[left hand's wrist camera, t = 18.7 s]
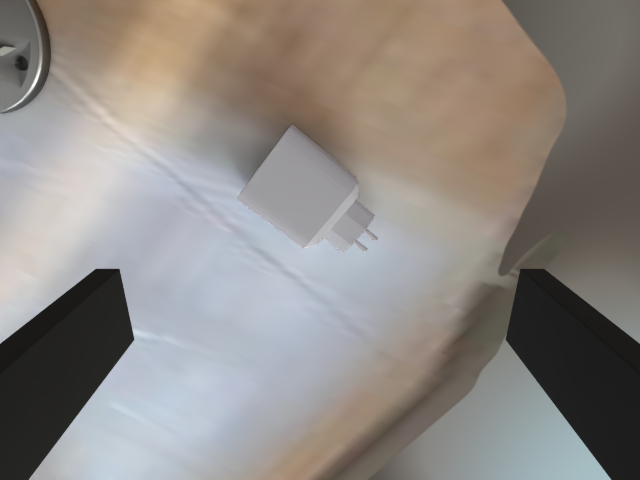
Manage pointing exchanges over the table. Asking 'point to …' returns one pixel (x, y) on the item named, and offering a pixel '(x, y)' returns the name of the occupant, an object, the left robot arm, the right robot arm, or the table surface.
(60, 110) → the table surface
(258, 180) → the charger
